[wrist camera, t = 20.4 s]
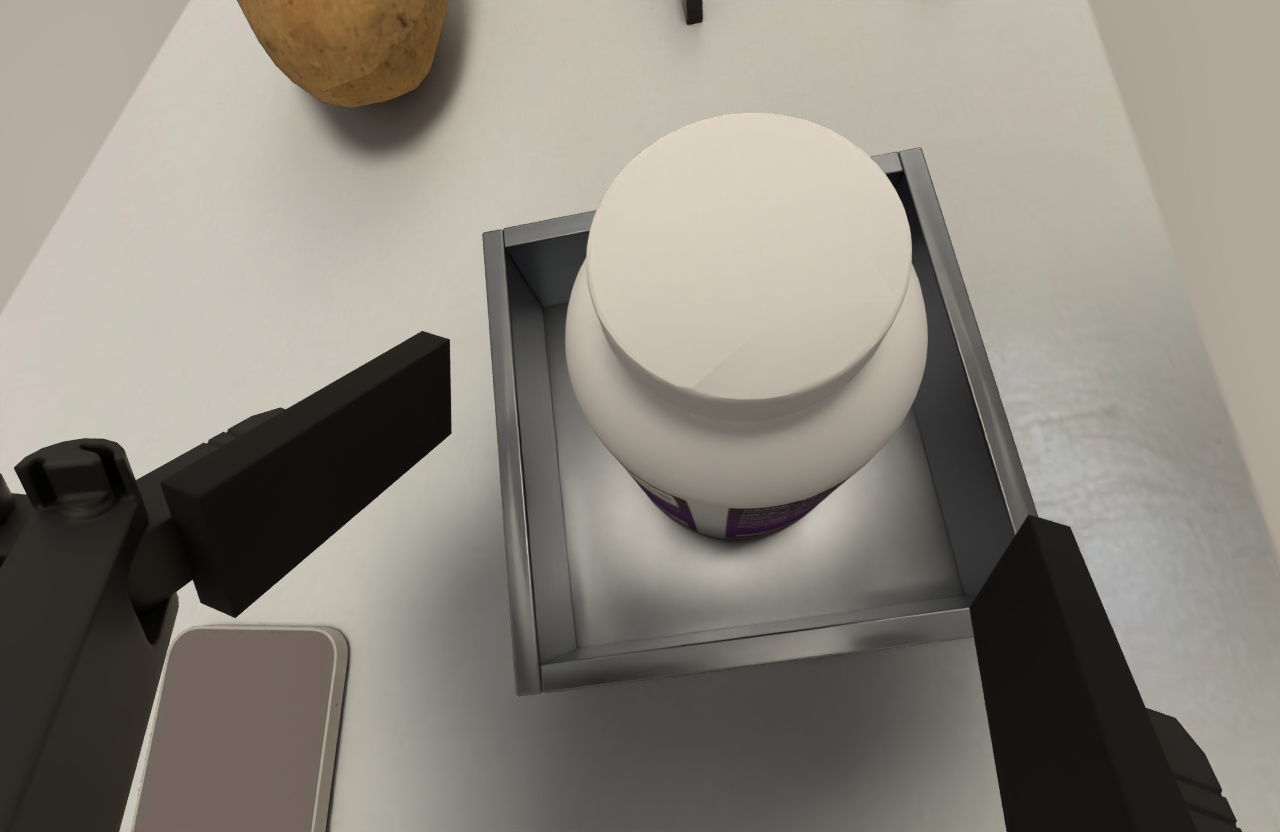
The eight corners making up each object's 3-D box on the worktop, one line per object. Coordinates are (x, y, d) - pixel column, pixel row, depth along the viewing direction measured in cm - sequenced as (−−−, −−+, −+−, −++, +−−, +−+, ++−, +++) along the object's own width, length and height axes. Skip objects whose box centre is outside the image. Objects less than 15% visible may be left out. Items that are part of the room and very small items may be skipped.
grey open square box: (878, 240, 27) (922, 146, 21) (982, 614, 22) (1073, 624, 17) (529, 304, 28) (481, 232, 22) (564, 670, 24) (515, 697, 18)
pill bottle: (848, 356, 25) (1016, 63, 11) (824, 560, 23) (990, 522, 9) (649, 330, 26) (571, 39, 12) (610, 520, 24) (465, 432, 10)
